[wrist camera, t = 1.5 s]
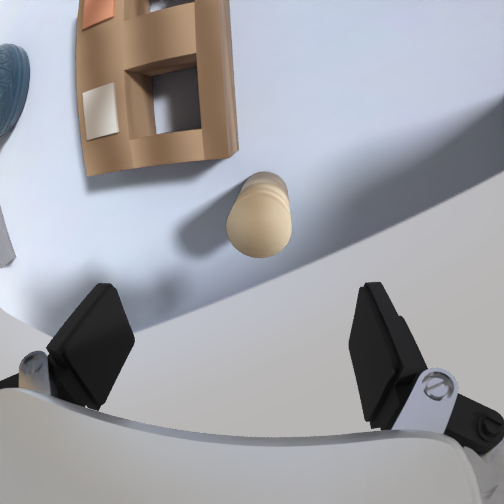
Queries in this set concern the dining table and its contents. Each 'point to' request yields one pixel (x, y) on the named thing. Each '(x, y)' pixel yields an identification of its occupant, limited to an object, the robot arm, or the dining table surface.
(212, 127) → the socket block
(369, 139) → the dining table surface
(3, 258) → the fruit corral
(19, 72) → the canister
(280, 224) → the peg
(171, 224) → the dining table surface
